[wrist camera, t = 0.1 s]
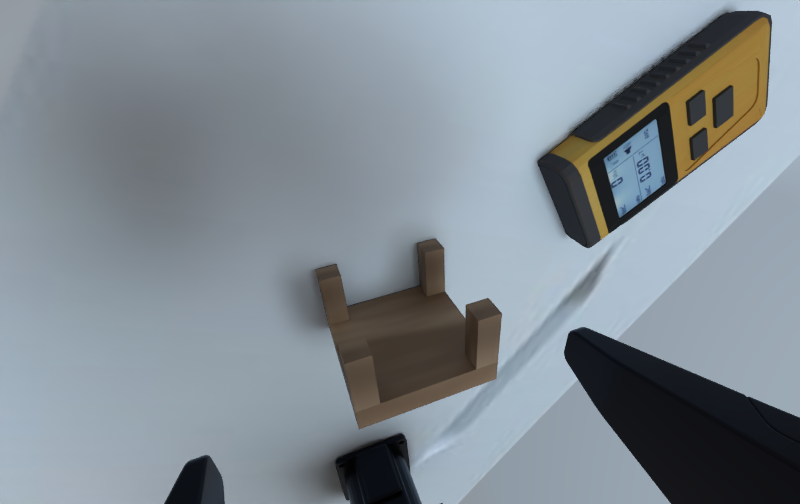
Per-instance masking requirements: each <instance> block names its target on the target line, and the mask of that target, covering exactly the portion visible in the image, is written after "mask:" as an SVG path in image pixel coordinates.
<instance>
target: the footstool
mask: <svg viewBox="0 0 800 504" xmlns="http://www.w3.org/2000/svg"><path fill="white" fill-rule="evenodd" d="M417 246H418V262H419V278H420V286H417V287H414V288H410V289H407V290H403V291H400V292H396V293H393V294H389V295H386V296H382V297H379V298H375V299H372V300H368V301H365V302H361V303H358V304H354V305H351V306H348V307H347V304H346V299H345V294H344V289H343V284H342V279H341V275H340V272H339V270H338V267H337V265H336V264H335V265H331V266H327V267H323V268H320V269H316V274H317V278H318V282H319V286H320V291H321V295H322V299H323V303H324V307H325V311H326V315H327V320H328V324H329V328H330V331H331V335H332V338H333V342H334V345H335V348H336V352H337V355H338V359H339V362H340V366H341V369H342V372H343V376H344V379H345V383H346V386H347V390H348V393H349V396H350V400H351V403H352V407H353V410H354V414H355V417H356V420H357V424H358V427H359V429H361V428H364V427H367V426H370V425H372V424H375V423H378V422H380V421H383V420H386V419H389V418H391V417H394V416H397V415H399V414H402V413H405V412H408V411H410V410H413V409H416V408H418V407H421V406H424V405H427V404H429V403H432V402H435V401H437V400H440V399H443V398H446V397H448V396H451V395H454V394H456V393H459V392H462V391H465V390H467V389H470V388H473V387H475V386H478V385H481V384H484V383H486V382H489V381H492V380H494V379H496V376H497V365H498V353H499V341H500V330H501V318H502V313H501V312H500V311H499V310H498V308H497V307H496V306H495V305H494V304H493V303H492V302H491V301H490V299H489V298H486V299H483V300H480V301H477V302H474V303H470V304H467V305H466V319H465V318H464V316H463V315H462V314H461V312H460V311H459V310H458V308H457V307H456V306H455V304H454V303H453V302H452V300H451V299H450V298H449V296H448V295H447V294H446V292H445V274H444V248H443V246H442V245H441V244H440V243H439V242H438V241H437V240H436V239H432V240H428V241H424V242H421V243H417Z"/></svg>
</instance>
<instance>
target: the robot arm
mask: <svg viewBox="0 0 800 504" xmlns="http://www.w3.org/2000/svg"><path fill="white" fill-rule="evenodd" d="M564 356H565V359H566V361H567V363H568V364H569V366H570V367H571V369H572V371H573V372H574V374H575V375H576V377H577V378H578V380H579V381H580V383H581V385H582V386H583V388H584V389H585V391H586V392H587V394H588V395H589V397H590V398H591V400H592V402H593V403H594V405H595V406H596V408H597V409H598V410H599V412H600V413H601V415H602V416H603V417H604V419H605V420H606V421H607V422H608V424H609V425H610V426H611V427H612V429H613V430H614V431H615V433H616V434H617V435H618V437H619V438H620V439H621V440H622V442H623V443H624V444H625V445H626V447H627V448H628V449H629V451H630V452H631V453H632V454H633V456H634V457H635V458H636V459H637V461H638V462H639V463H640V464H641V466H642V467H643V468H644V470H645V471H646V472H647V473H648V475H649V476H650V477H651V479H652V480H653V481H654V482H655V484H656V485H657V486H658V488H659V489H660V490H661V491H662V493H663V494H664V495H665V496H666V498H667V499H668V500H669V502H670V503H671V504H800V418H799V417H797V416H794V415H792V414H790V413H787V412H785V411H782V410H780V409H777V408H775V407H772V406H770V405H768V404H765V403H763V402H760V401H758V400H756V399H753V398H751V397H746V396H745V395H744V394H741V393H739V392H737V391H734V390H732V389H730V388H727V387H725V386H723V385H720V384H718V383H716V382H713V381H711V380H708V379H706V378H704V377H701V376H699V375H697V374H694V373H692V372H690V371H687V370H685V369H683V368H680V367H678V366H675V365H673V364H671V363H668V362H666V361H664V360H661V359H659V358H656V357H654V356H652V355H650V354H647V353H645V352H642V351H640V350H638V349H635V348H633V347H631V346H628V345H626V344H624V343H621V342H619V341H617V340H614V339H612V338H610V337H607V336H605V335H602V334H600V333H598V332H595V331H593V330H591V329H588V328H585V327H581V328H578V329H575V330H572V331H570V332H569V334H568V337H567V342H566V346H565V350H564ZM335 465H336V469H337V472H338V476H339V479H340V482H341V485H342V488H343V492H344V495H345V498H346V500H350V504H422V503H421V501H420V498H419V495H418V493H417V490H416V487H415V485H414V482H413V479H412V477H411V474H410V465H409V457H408V449H407V440H406V438H405V436H404V435H399V436H397V437H394V438H391V439H389V440H386V441H384V442H381V443H378V444H376V445H373V446H371V447H368V448H365V449H363V450H360V451H358V452H355V453H352V454H350V455H347V456H344V457H342V458H339V459H338V460H336V462H335ZM164 504H225V501H224V486H223V480H222V476H221V474H220V472H219V471H218V469H217V467H216V465H215V464H214V462H213V460H212V459H211V457H210V456H208V455H204V456H201V457H198V458H196V459H193V460H190V461H188V462H187V463H186V464H185V466H184V467H183V469H182V471H181V473H180V475H179V477H178V479H177V481H176V483H175V484H174V486H173V488H172V490H171V492H170V494H169V496H168V498H167V499H166V501H165V503H164ZM441 504H443V503H441Z"/></svg>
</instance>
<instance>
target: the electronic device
mask: <svg viewBox="0 0 800 504" xmlns="http://www.w3.org/2000/svg"><path fill="white" fill-rule="evenodd" d="M771 28H772V20H771V15H768V14H766V13H763V12H760V11H735V12H731V13H727V14H725V15H723V16H721V17H719V18H718V19H717V20H716V21H714V22H713V23H712V24H710V25H709V26H708V27H707V28H705V29H704V30H703V31H701V32H700V33H699V34H698V35H696V36H695V37H694V38H692V39H691V40H690V41H689V42H687V43H686V44H685V45H683V46H682V47H681V48H680V49H678V50H677V51H676V52H674V53H673V54H672V55H671V56H669V57H668V58H667V59H665V60H664V61H663V62H662V63H660V64H659V65H658V66H656V67H655V68H654V69H653V70H651V71H650V72H649V73H647V74H646V75H645V76H644V77H642V78H641V79H640V80H638V81H637V82H636V83H635V84H633V85H632V86H631V87H629V88H628V89H627V90H626V91H624V92H623V93H622V94H620V95H619V96H618V97H617V98H615V99H614V100H613V101H611V102H610V103H609V104H608V105H606V106H605V107H604V108H602V109H601V110H600V111H599V112H597V113H596V114H595V115H593V116H592V117H591V118H590V119H588V120H587V121H586V122H584V123H583V124H582V125H580V126H579V127H578V128H577V129H576V130H575V131H574V132H573V135H572V136H570V137H569V138H568V139H567V140H565V141H564V142H563V143H561V144H560V145H559V146H558V147H556V148H555V149H554V150H552V151H551V152H550V153H548V154H547V155H546V156H544V157H543V158H542V159H541V160H539V162H538V165H539V167H540V170H541V173H542V175H543V178H544V180H545V183H546V185H547V188H548V190H549V193H550V195H551V198H552V200H553V203H554V205H555V207H556V210H557V212H558V215H559V217H560V220H561V222H562V225H563V227H564V230H565V232H566V234H567V235H568V236H569V237H571V238H572V239H573V240H575V241H576V242H578V243H579V244H581V245H582V246H584V247H586V248H590V247H592V246H593V245H595V244H596V243H597V242H599V241H600V240H601V239H603V238H604V237H605V236H607V235H608V234H609V233H611V232H612V231H614V230H615V229H616V228H618V227H619V226H620V225H622V224H624V223H625V222H627V221H628V220H630V219H631V218H632V217H634V216H635V215H636V214H638V213H639V212H640V211H642V210H643V209H644V208H645V207H647V206H648V205H649V204H651V203H652V202H653V201H655V200H656V199H657V198H659V197H660V196H661V195H663V194H664V193H665V192H667V191H668V190H669V189H670V188H672V187H673V186H674V185H676V184H677V183H678V182H680V181H681V180H682V179H684V178H685V177H686V176H688V175H689V174H690V173H692V172H693V171H694V170H696V169H697V168H698V167H699V166H701V165H702V164H703V163H705V162H706V161H707V160H709V159H710V158H711V157H713V156H714V155H715V154H717V153H718V152H719V151H721V150H722V149H723V148H725V147H726V146H727V145H728V144H730V143H731V142H732V141H734V140H735V139H736V138H738V137H739V136H740V135H742V134H743V133H744V132H746V131H747V130H748V129H750V128H751V127H752V126H753V125H755V124H756V123H757V122H758V121H759V120H760V119H761V118H762V116H763V115H764V113H765V111H766V107H767V99H768V82H769V64H770V46H771Z"/></svg>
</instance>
